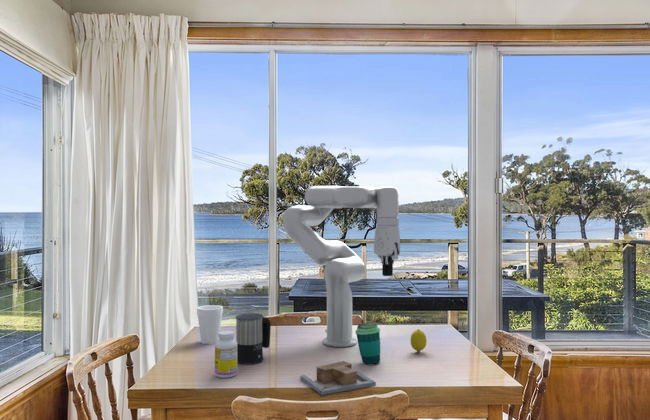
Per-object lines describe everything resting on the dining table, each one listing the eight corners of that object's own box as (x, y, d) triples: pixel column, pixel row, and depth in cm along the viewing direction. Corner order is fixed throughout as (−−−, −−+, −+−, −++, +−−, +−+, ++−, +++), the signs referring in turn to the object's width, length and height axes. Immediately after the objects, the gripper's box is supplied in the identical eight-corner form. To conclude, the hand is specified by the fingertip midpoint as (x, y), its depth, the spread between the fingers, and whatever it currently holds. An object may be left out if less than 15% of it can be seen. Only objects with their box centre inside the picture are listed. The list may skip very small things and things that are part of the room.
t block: (316, 380, 146) (316, 366, 146) (343, 374, 152) (343, 360, 152) (337, 390, 138) (337, 375, 138) (365, 382, 144) (364, 368, 144)
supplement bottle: (216, 371, 154) (216, 329, 154) (238, 371, 154) (238, 329, 154) (213, 379, 147) (213, 335, 147) (236, 378, 147) (236, 334, 148)
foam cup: (224, 343, 186) (224, 308, 186) (198, 346, 182) (198, 310, 182) (220, 337, 195) (220, 304, 195) (196, 339, 191) (196, 305, 191)
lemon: (426, 354, 172) (426, 331, 172) (410, 353, 173) (410, 330, 173) (426, 350, 178) (426, 327, 178) (410, 349, 179) (410, 327, 179)
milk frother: (255, 366, 159) (255, 319, 159) (212, 361, 164) (212, 316, 164) (273, 354, 173) (273, 311, 173) (233, 350, 178) (233, 308, 178)
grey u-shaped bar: (300, 379, 147) (300, 375, 147) (350, 370, 155) (350, 367, 155) (321, 395, 134) (321, 391, 134) (375, 385, 142) (375, 381, 142)
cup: (373, 367, 158) (373, 329, 158) (350, 363, 162) (350, 326, 162) (384, 361, 165) (384, 324, 165) (362, 357, 169) (362, 321, 169)
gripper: (367, 222, 178) (366, 273, 178) (390, 223, 165) (390, 279, 165) (384, 222, 182) (384, 272, 182) (409, 223, 168) (409, 277, 168)
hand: (387, 275), depth 173 cm, fingers closed
